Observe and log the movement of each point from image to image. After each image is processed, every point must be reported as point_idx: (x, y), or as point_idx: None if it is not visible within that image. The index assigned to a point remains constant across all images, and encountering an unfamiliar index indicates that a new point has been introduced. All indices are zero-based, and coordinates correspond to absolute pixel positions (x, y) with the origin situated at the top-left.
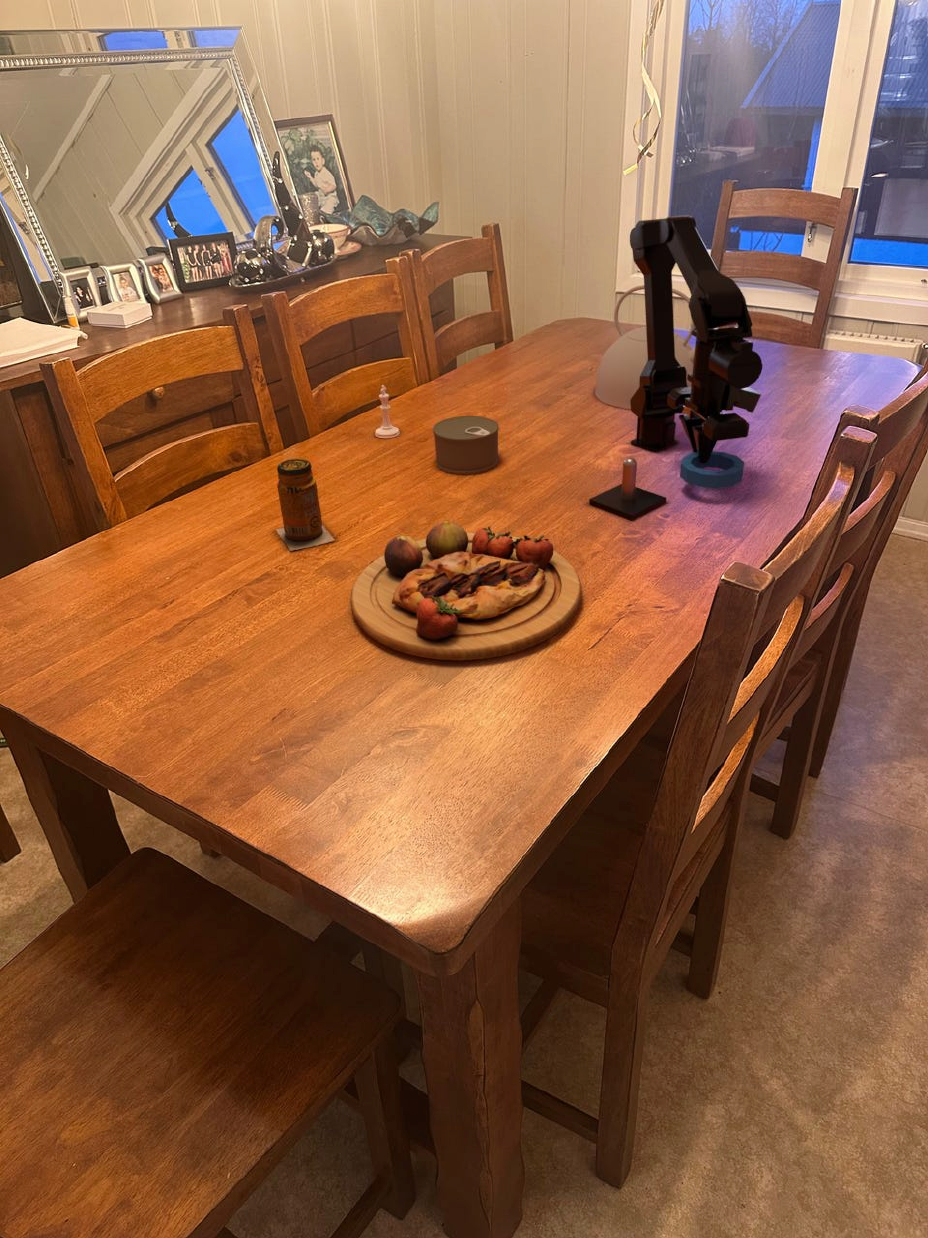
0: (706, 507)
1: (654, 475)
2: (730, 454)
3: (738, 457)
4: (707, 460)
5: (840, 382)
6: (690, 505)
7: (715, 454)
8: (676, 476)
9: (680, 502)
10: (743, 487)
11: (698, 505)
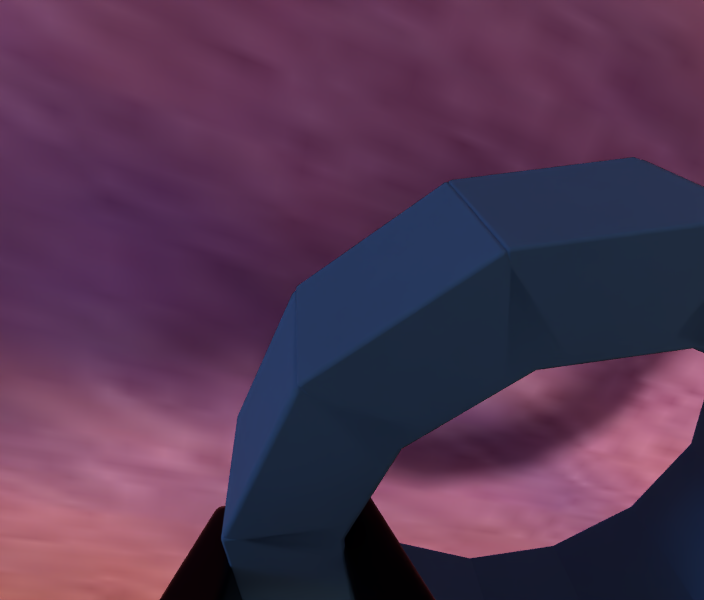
0: (676, 414)
1: (155, 566)
2: (423, 323)
3: (575, 246)
4: (373, 503)
5: None
6: (611, 479)
7: (367, 486)
8: (179, 472)
9: (554, 512)
10: (488, 56)
11: (631, 445)
